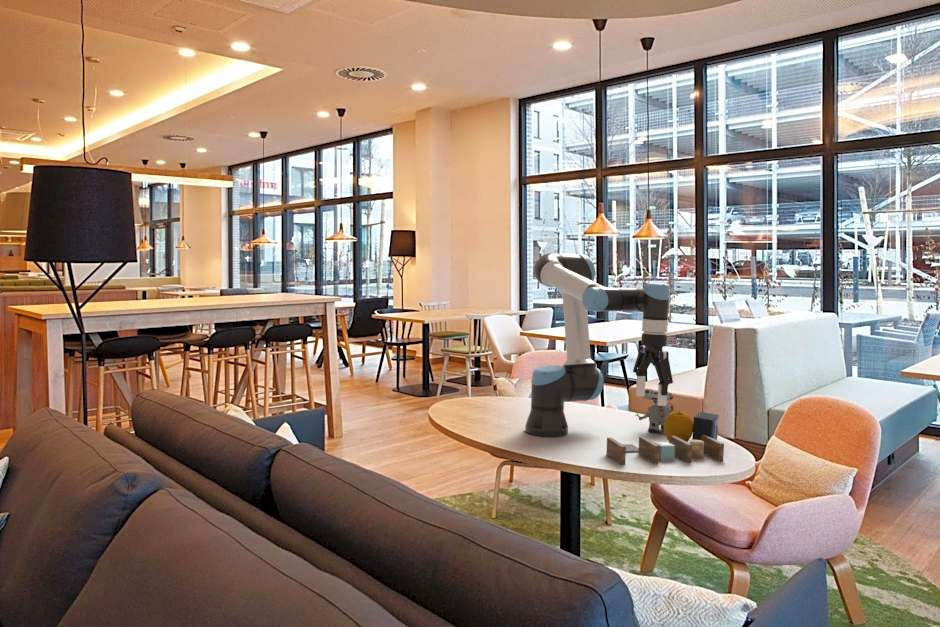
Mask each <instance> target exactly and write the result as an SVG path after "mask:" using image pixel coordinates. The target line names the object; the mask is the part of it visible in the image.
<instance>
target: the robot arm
mask: <svg viewBox="0 0 940 627" xmlns="http://www.w3.org/2000/svg"><path fill="white" fill-rule="evenodd" d="M533 274H534V277H535V278H536V280H537V281H538V282H539V283H540V284H542V285H543V286H545V287H548V288H555V289H557V291H558V293H560V294H561V296H562V307H563V318H564V319H563V320H564V321H563V322H564V323H563V324H564V334H565V335H564V336H565V348H566V361H564V363H563V364H562V365H559V364H558V365H557V364H554V365H550V364H549V365H542V366H539V367H536V368H535V369H534V370H533V372H532V375H531V381H530V382H531V383H530V384H531V398H530V400H531V401H530V412H529V414H528V416H527V420H526V423H525V433H527V434H529V435H533V436H538V437H549V438H551V437H552V438H553V437H556V438H557V437H562V436H566V435H568V434H569V424H568V422H567V418H566V414H565V411H564V410H565V409H564V408H565V403H569V402H587V401H591V400H594V399H597V398H598V397H599V396H600V395H601V393H602V391H603V388H604V375H603V373H602V371H601V370H600V369H599V368H598V367H597V366H596V362H595V361H594V360H593V359H592V357H591V356H592V355H591V347H590V346H591V344H590V343H591V342H590V331H589V319H588V312H595V313H599V312H600V313H601V312H640V313H642V324H641V325H642V326H641V331H642V332H643V333H641V343H640V344H641V345H639V347H638V354H637V356H636V360H635V362H634V366H633V368H632V369H633V370H632V372H633V373H635V376H636V383H635V384H636V386H635V388H636V389H635V397H643V396H645V389H646V376H647V375H646V373H647V370H648V369H649V367H650V365H651V364H652V366H654V369H655V371H656V374H657V377H658V381H659V382H658V383H657V386H658V387H657V389H658V401H657V405H658V406H668V405H667V404H668V403H667V402H668V400H667V393H669V392H668V390H669V385H671V384H673V383H674V379H673V375H672V370H671V364H670V359H669V358H670V357H669V356H670V355H669V354H670V353H669V351H667V350H666V351H664V350H663V348H664V347H666V346H667V344H668V335H667V334H666V333H667V332H668V325H669V323H668V321H669V309H670V307H669V306H670V297H671V296H670V286H669V284H667V283H663V282H646V283H645V284H644V287H643V288H642V287H636V286H624V287H611V286H610V287H609V286H608V287H607V286H604V285H602V284H599V283H597V282H595V277H596V268H595V264H594V262H593V260H592V259H591V258H590V257H589V256H588V255H586V254H580V253H565V252H564V253H562V252H561V253H559V252H550V253H549V252H548V253H545V254H544V255H542V256H540V257H539V258H538V259H537V260H536V262H535V264H534V268H533Z"/></svg>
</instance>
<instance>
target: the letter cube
mask: <svg viewBox="0 0 940 627" xmlns="http://www.w3.org/2000/svg"><path fill="white" fill-rule="evenodd" d="M654 443H656V444H657V445H659V461H672V460H675V457H676V456H675V445H673V444H671V443H669V441H661V442H660V441H659V442H658V441H657V442H654Z"/></svg>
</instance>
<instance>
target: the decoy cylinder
mask: <svg viewBox="0 0 940 627" xmlns="http://www.w3.org/2000/svg"><path fill="white" fill-rule="evenodd" d="M688 443H690V444H692V456H691V459H695V458H696V459H697V460H698V459H700V460H701V458H702V459H703V458H704V441H701V440H692V439H689V441H688Z"/></svg>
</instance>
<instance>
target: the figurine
mask: <svg viewBox="0 0 940 627" xmlns="http://www.w3.org/2000/svg"><path fill="white" fill-rule="evenodd" d="M642 399H644V400H650V401H653V404H652V405H651V406H648V407H647V411H648V412H646V413H645V414H644V415H643V416H640V415H639V413H638V412H636V414H635V417H638V420H639V421H642V420H644V419H647V418H648V421H649V424H648V425H649V426H648V430H647V431H648V433H651V434H656V435H658V434H660V433H661V430H663V425H664V422H665V419H666V417H667V416H668V414H670V413H671V412H675V411H674V410H675V409H674V405H673V404H672V403H671V402H669V403H667V406H658V405H657V401H658V390H656V389H652V388H645V396H642ZM673 399H674V395H673V394H672V393H671V392H668V393H667V401H672V400H673ZM669 404H670V405H669ZM660 429H661V430H660Z"/></svg>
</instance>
